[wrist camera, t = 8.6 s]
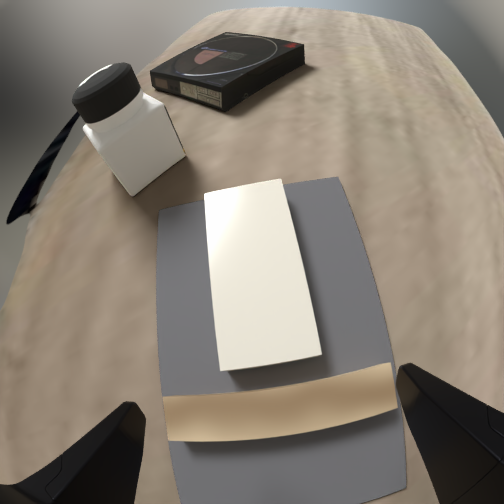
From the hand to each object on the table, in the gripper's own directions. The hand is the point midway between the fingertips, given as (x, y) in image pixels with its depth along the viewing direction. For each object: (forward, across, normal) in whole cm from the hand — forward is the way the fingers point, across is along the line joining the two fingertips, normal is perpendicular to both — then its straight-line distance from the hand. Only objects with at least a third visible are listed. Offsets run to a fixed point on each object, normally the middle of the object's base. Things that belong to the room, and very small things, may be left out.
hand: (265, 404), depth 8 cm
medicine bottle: (+23, +10, -10) cm, 27 cm away
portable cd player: (+36, 0, -22) cm, 42 cm away
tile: (+12, 0, 0) cm, 12 cm away
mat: (+9, 0, +5) cm, 10 cm away
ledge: (+6, 0, +7) cm, 9 cm away
